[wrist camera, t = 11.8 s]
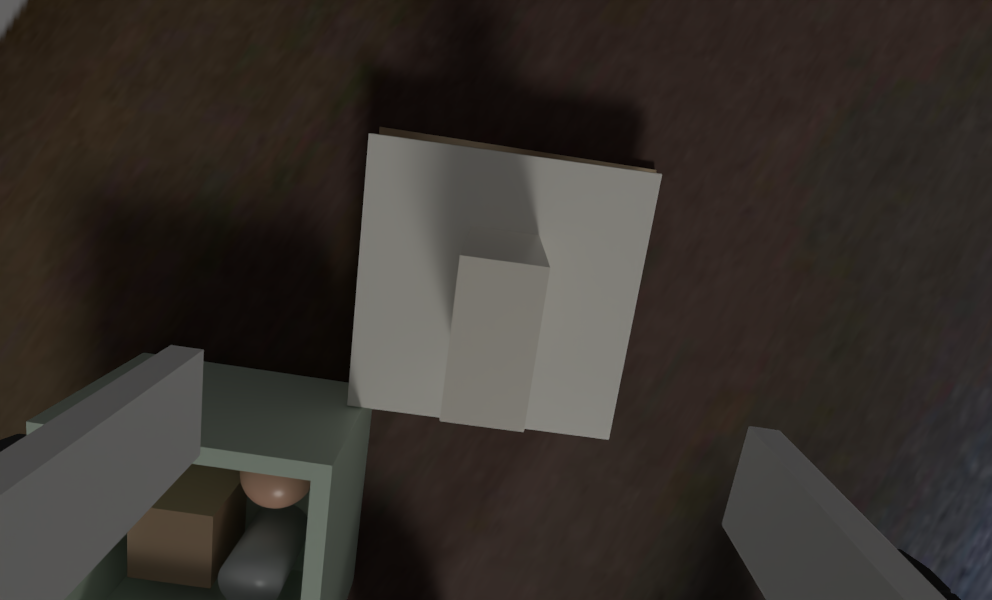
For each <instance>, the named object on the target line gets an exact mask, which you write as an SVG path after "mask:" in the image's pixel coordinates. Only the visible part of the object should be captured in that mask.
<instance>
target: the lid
mask: <svg viewBox="0 0 992 600" xmlns="http://www.w3.org/2000/svg"><path fill="white" fill-rule="evenodd" d="M661 177H662V174H659V173H653V172H645V171H638V170H631V169H624V168H617V167H610V166H603V165H595V164H588V163H581V162H574V161H567V160H560V159H552V158H545V157H538V156H531V155H524V154H517V153H510V152H502V151H495V150H488V149H481V148H474V147H467V146H459V145H452V144H445V143H438V142H431V141H424V140H417V139H409V138H402V137H395V136H388V135H381V134H374V133H369V136H368V149H367V161H366V174H365V187H364V199H363V212H362V224H361V237H360V250H359V262H358V275H357V287H356V300H355V313H354V325H353V338H352V350H351V363H350V376H349V388H348V401H347V405H348V406H356V407H363V408H371V409H379V410H386V411H394V412H401V413H409V414H417V415H424V416H432V417H440V421H443V422H450V423H458V424H465V425H473V426H481V427H488V428H496V429H504V430H511V431H519V432H524V429H531V430H539V431H546V432H554V433H562V434H569V435H577V436H584V437H592V438H600V439H607V440H609V436H610V431H611V426H612V421H613V416H614V411H615V406H616V401H617V396H618V391H619V386H620V381H621V376H622V371H623V366H624V361H625V356H626V351H627V346H628V341H629V336H630V331H631V326H632V321H633V316H634V312H635V307H636V302H637V297H638V292H639V287H640V282H641V277H642V272H643V267H644V262H645V257H646V252H647V247H648V242H649V237H650V232H651V227H652V222H653V217H654V212H655V207H656V202H657V197H658V192H659V187H660V182H661Z"/></svg>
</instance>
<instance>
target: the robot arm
mask: <svg viewBox="0 0 992 600" xmlns="http://www.w3.org/2000/svg"><path fill="white" fill-rule="evenodd" d="M203 358H204V350H203V349H196V348H189V347H182V346H175V345H170V346H168V347H167V348H165V349H163V350H162V351H160V352H159V353H157V354H156V355H154V356H152V357H151V358H149V359H148V360H146V361H144V362H143V363H141V364H140V365H138V366H136V367H135V368H133V369H132V370H130V371H128V372H127V373H125V374H124V375H122V376H120V377H119V378H117V379H116V380H114V381H113V382H111V383H109V384H108V385H106V386H105V387H103V388H101V389H100V390H98V391H97V392H95V393H93V394H92V395H90V396H89V397H87V398H85V399H84V400H82V401H81V402H79V403H77V404H76V405H74V406H73V407H71V408H70V409H68V410H66V411H65V412H63V413H62V414H60V415H58V416H57V417H55V418H54V419H52V420H50V421H49V422H47V423H46V424H44V425H42V426H41V427H39V428H38V429H36V430H34V431H33V432H31V433H30V434H28V435H24V434H16V435H13V436H11V437H8V438H5V439H2V440H0V600H64V599H65V598H66V597H67V596H68V595H69V594H70V593H71V592H72V591H73V590H74V589H75V588H76V587H77V586H78V584H79V583H80V582H81V581H82V580H83V579H84V578H85V577H86V576H87V575H88V574H89V573H90V572H91V571H92V570H93V568H94V567H95V566H96V565H97V564H98V563H99V562H100V561H101V560H102V559H103V558H104V557H105V556H106V555H107V554H108V553H109V551H110V550H111V549H112V548H113V547H114V546H115V545H116V544H117V543H118V542H119V541H120V540H121V539H122V538H123V537H124V535H125V534H126V533H127V532H128V531H129V530H130V529H131V528H132V527H133V526H134V525H135V524H136V523H137V522H138V521H139V520H140V518H141V517H142V516H143V515H144V514H145V513H146V512H147V511H148V510H149V509H150V508H151V507H152V506H153V505H154V504H155V503H156V501H157V500H158V499H159V498H160V497H161V496H162V495H163V494H164V493H165V492H166V491H167V490H168V489H169V488H170V487H171V485H172V484H173V483H174V482H175V481H176V480H177V479H178V478H179V477H180V476H181V475H182V474H183V473H184V472H185V471H186V470H187V468H188V467H189V466H190V465H191V464H192V463H193V462H194V461H195V460H196V459H197V458H198V457H199V456H200V444H201V415H202V386H203ZM722 526H723V528H724V530H725V531H726V533H727V535H728V536H729V538H730V540H731V541H732V543H733V545H734V547H735V548H736V550H737V552H738V553H739V555H740V557H741V558H742V560H743V562H744V563H745V565H746V567H747V568H748V570H749V572H750V573H751V575H752V577H753V579H754V580H755V582H756V584H757V585H758V587H759V589H760V590H761V592H762V594H763V595H764V597H765V599H766V600H961V599H960V598H959V597H958V596H957V595H956V594H953V593H951V592H950V589H949V588H948V587H947V586H946V585H945V584H944V583H943V582H942V581H941V580H940V579H939V578H938V577H937V576H936V575H935V574H934V573H933V572H932V571H931V570H930V569H929V568H927V567H926V566H925V565H923V564H922V563H920V562H919V561H917V560H916V559H914V558H913V557H911V556H910V555H908V554H907V553H905V552H904V551H902V550H901V549H896V548H895V547H894V546H893V545H892V544H891V543H890V542H889V541H888V540H887V539H886V538H885V537H884V536H883V535H882V534H881V533H880V532H879V531H878V530H877V529H876V528H875V527H874V526H873V525H872V524H871V523H870V522H869V521H868V519H867V518H866V517H865V516H864V515H863V514H862V513H861V512H860V511H859V510H858V509H857V508H856V507H855V506H854V505H853V504H852V503H851V502H850V501H849V500H848V499H847V498H846V497H845V496H844V495H843V494H842V493H841V492H840V491H839V490H838V489H837V488H836V487H835V486H834V485H833V484H832V483H831V482H830V481H829V480H828V479H827V478H826V477H825V476H824V475H823V474H822V473H821V472H820V471H819V470H818V469H817V468H816V467H815V466H814V465H813V464H812V463H811V462H810V461H809V460H808V459H807V458H806V457H805V456H804V455H803V454H802V453H801V452H800V451H799V450H798V449H797V448H796V447H795V446H794V445H793V444H792V443H791V442H790V441H789V440H788V439H787V438H786V436H785V435H784V434H783V433H782V432H781V431H780V430H773V429H766V428H759V427H752V426H749V427H748V431H747V435H746V438H745V442H744V445H743V449H742V453H741V456H740V460H739V464H738V467H737V471H736V474H735V478H734V482H733V485H732V489H731V492H730V496H729V500H728V503H727V507H726V510H725V514H724V518H723V521H722Z"/></svg>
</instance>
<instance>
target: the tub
mask: <svg viewBox="0 0 992 600" xmlns="http://www.w3.org/2000/svg"><path fill="white" fill-rule="evenodd" d="M154 355H156V354H150V353H142V354H140V355H138V356H137V357H135V358H133V359H132V360H130V361H128V362H127V363H125V364H123V365H121V366H120V367H118V368H116V369H115V370H113V371H111V372H110V373H108V374H106V375H105V376H103V377H101V378H99V379H98V380H96V381H94V382H93V383H91V384H89V385H88V386H86V387H84V388H83V389H81V390H79V391H77V392H76V393H74V394H72V395H71V396H69V397H67V398H66V399H64V400H62V401H60V402H59V403H57V404H55V405H54V406H52V407H50V408H49V409H47V410H45V411H44V412H42V413H40V414H38V415H37V416H35V417H33V418H32V419H30V420H28V421H27V422H26V429H27V435H28V434H30V433H31V432H33V431H34V430H36V429H38V428H39V427H41V426H42V425H44V424H46V423H47V422H49V421H50V420H52V419H54V418H55V417H57V416H58V415H60V414H62V413H63V412H65V411H66V410H68V409H70V408H71V407H73V406H74V405H76V404H77V403H79V402H81V401H82V400H84V399H85V398H87V397H89V396H90V395H92V394H93V393H95V392H97V391H98V390H100V389H101V388H103V387H105V386H106V385H108V384H109V383H111V382H113V381H114V380H116V379H117V378H119V377H120V376H122V375H124V374H125V373H127V372H128V371H130V370H132V369H133V368H135V367H136V366H138V365H140V364H141V363H143V362H144V361H146V360H148V359H149V358H151V357H152V356H154ZM348 388H349V383H348V382H341V381H334V380H327V379H320V378H314V377H307V376H300V375H293V374H286V373H280V372H273V371H266V370H259V369H252V368H245V367H239V366H232V365H225V364H218V363H211V362H205V361H203V386H202V415H201V444H200V456H199V457H198V458H197V459H196V460H195V461H194V462H193V463H192V464H191V465H190V466H189V467H188V468H187V470H186V471H185V472H184V473H183V474H182V475H181V476H180V477H179V478H178V479H177V480H176V481H175V482H174V483H173V484H172V485H171V487H170V488H169V489H168V490H167V491H166V492H165V493H164V494H163V495H162V496H161V497H160V498H159V499H158V500H157V501H156V503H155V504H154V505H153V506H152V507H151V508H150V509H149V510H148V511H147V512H146V513H145V514H144V515H143V516H142V517H141V518H140V520H139V521H138V522H137V523H136V524H135V525H134V526H133V527H132V528H131V529H130V530H129V531H128V532H127V533H126V534H125V535H124V537H123V538H122V539H121V540H120V541H119V542H118V543H117V544H116V545H115V546H114V547H113V548H112V549H111V550H110V551H109V553H108V554H107V555H106V556H105V557H104V558H103V559H102V560H101V561H100V562H99V563H98V564H97V565H96V566H95V567H94V568H93V570H92V571H91V572H90V573H89V574H88V575H87V576H86V577H85V578H84V579H83V580H82V581H81V582H80V583H79V584H78V586H77V587H76V588H75V589H74V590H73V591H72V592H71V593H70V594H69V595H68V596H67V597H66V598H65V599H64V600H347V597H348V594H349V592H350V589H351V586H352V583H353V580H354V571H355V562H356V552H357V543H358V534H359V525H360V515H361V506H362V497H363V488H364V479H365V469H366V460H367V451H368V442H369V432H370V423H371V414H372V409H371V408H363V407H356V406H348V405H347V401H348Z"/></svg>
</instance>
